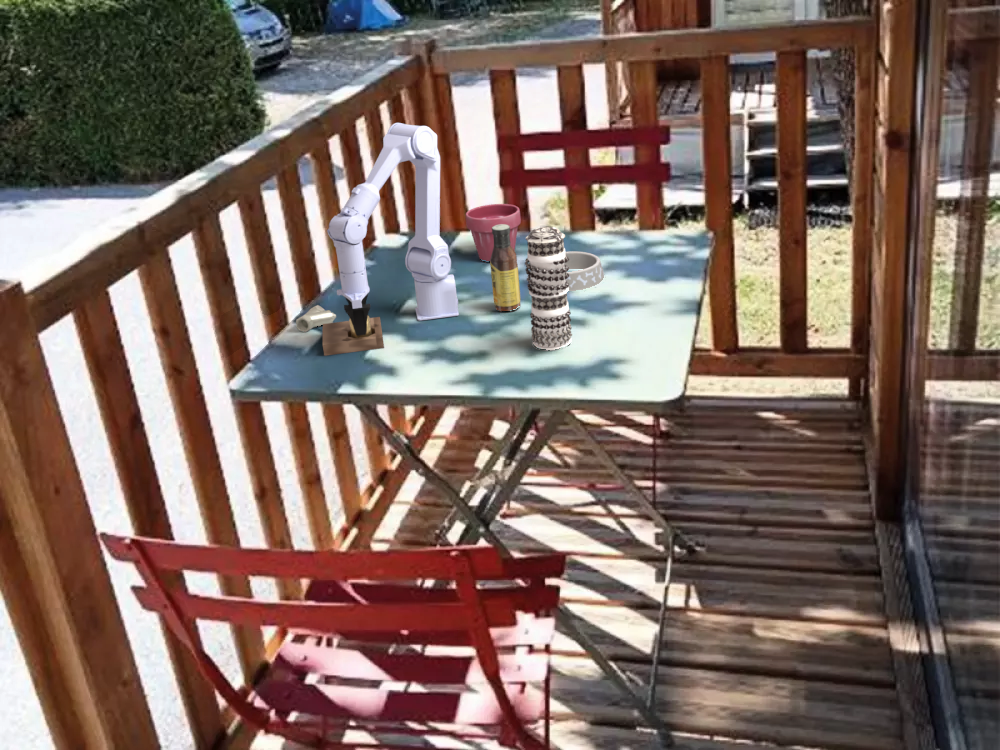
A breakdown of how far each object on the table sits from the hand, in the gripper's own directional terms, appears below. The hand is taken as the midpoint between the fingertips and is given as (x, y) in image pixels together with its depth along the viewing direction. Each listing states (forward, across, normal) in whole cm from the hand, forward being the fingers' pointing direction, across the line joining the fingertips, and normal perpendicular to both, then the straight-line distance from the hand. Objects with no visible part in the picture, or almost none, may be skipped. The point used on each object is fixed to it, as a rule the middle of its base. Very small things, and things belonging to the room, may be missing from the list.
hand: (360, 328), depth 249 cm
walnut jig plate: (+3, -2, -2) cm, 4 cm away
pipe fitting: (+4, -15, -10) cm, 18 cm away
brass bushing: (+3, 0, 0) cm, 3 cm away
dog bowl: (+4, -24, +51) cm, 57 cm away
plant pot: (+4, -49, +37) cm, 62 cm away
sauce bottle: (+4, -10, +34) cm, 36 cm away
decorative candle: (+4, +14, +40) cm, 43 cm away
